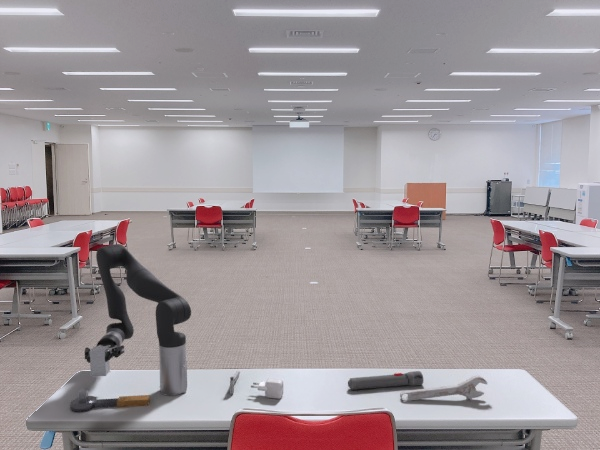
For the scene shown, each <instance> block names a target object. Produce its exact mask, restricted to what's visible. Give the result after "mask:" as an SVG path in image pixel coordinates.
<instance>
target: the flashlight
mask: <svg viewBox="0 0 600 450" xmlns="http://www.w3.org/2000/svg"><path fill="white" fill-rule="evenodd" d="M423 384H424V375H423V373H422V372H421V371H420V370H415V371H408V372H405V373H402V372H398V373H397V372H395V373H393V374H385V375H373V376H361V377H360V376H359V377H351V378H349V380H348V381H347V386H348V388H349V389H350V390H355V391H356V390H364V389H365V390H366V389H375V388H376V389H377V388H387V387H397V386H398V387H399V386H410V387H413V386H414V387H415V386H422V385H423Z"/></svg>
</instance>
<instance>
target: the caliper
mask: <svg viewBox="0 0 600 450" xmlns="http://www.w3.org/2000/svg"><path fill="white" fill-rule="evenodd" d="M240 373H241V372H240V370H237V371H236V372H235V373H234V375H233V376H230V378H229V379H230V381H229V395H230V396H233V395H234V393H235V392H234V391H235V386H236V381H237V380H238V378H239V376H240Z"/></svg>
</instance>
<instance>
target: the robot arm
mask: <svg viewBox="0 0 600 450" xmlns="http://www.w3.org/2000/svg"><path fill="white" fill-rule="evenodd" d="M95 258H96V264H97V267H98V271H99V275H100V278H101V282H102V286H103V288H104V289H103V290H104V292H105V297H106V303H107V305H106V306H107V311H108V312H107V313H108V317H109V318H110V319H112V320H118V321H119V322H113V323H110V324H108V325H107V326H106V333H105V334H104V335H103V336H102V337H101V338H100V339H99V341H97V343H96V346H95V347H97V346H109V351H108V353H107V354H106V355H105V362H108V360H109V361H110V360H111V359H113V358H119V357H120V356H121V355H123V354H124V353H125V345H123V344H122V343H123V342H124V340H129V339H131V338H132V337H133V336H134V333H135V329H134V326H133V323H132V322H131V319H130V316H129V314H128V311H127V302H126V297H125V294H124V292H123V290H122V289H121V288H120V286H118V284H117V283H116V282H115V280H114V279H113V277H112V274H111V269H115V268H120V267H121V268H124V269H125V270H126V277H125V279H126V283H127V284H126V285H127V286H128V287H129V288H130V289H131V290H132V291H133V293H135V294H136V295H137V296H139V297H140V298H143V299H145V300H148V301H151V302H154V303H157V304H156V307H155V325H156V334H157V335H156V336H157V339H158V352H159V353H158V354H159V355H158V356H159V358H158V359H159V392H160V394H162V395H164V396H178V395H181V394H185V393H187V391H188V390H187V388H188V361H187V346H186V345H187V343H186V342H187V340H186V338H187V337H186V334H184V333H183V332H180V331H175V325H179V324H183V323H185V322H187V321H188V320H189V319H190V318H191V315H192V309H191V306H190V304H189V302H188V301H187V300H186V299H185V298H184V297H183V296H181V295H180V294H178V293H177V292H176V291H174V290H172V289H171V288H169V286H167V285H166V284H164V283H163V282H162V281H160V280H159V278H157V277H156V276H155V275H154V274H153V273H152V272H151V271H150V270H148V268H146V267H145V266H144V265H142V264H141V262H139V261H138V260H137V259H136V258H135V257H134V256H133V254H132V253H131V252H130V251H129V250H128V248H126V246H124V245H123V244H120V243H115V244H111V245H105V246H101V247H99V248H97V250H96V255H95ZM91 349H92V348H90V347H85V348H84V360H86V362H88V364H90V350H91Z"/></svg>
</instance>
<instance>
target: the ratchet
mask: <svg viewBox="0 0 600 450" xmlns="http://www.w3.org/2000/svg"><path fill="white" fill-rule="evenodd" d="M77 395H78V397H76V398H73V399H72V400H71V401H70V402H69V405H70V411H71V412H72V413H85V412H90V411H92V410H94V409H99V408H102V409H103V408H114V407H117V408H125V407H128V408H129V407H143V406H149V404H150V401H151V395H150V394H143V395H124V396H123V395H122V396H119V397H117V398H99V399H97V397H96V396H94V395H89V388H83V389H82V388H81V389H79V391H77Z"/></svg>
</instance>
